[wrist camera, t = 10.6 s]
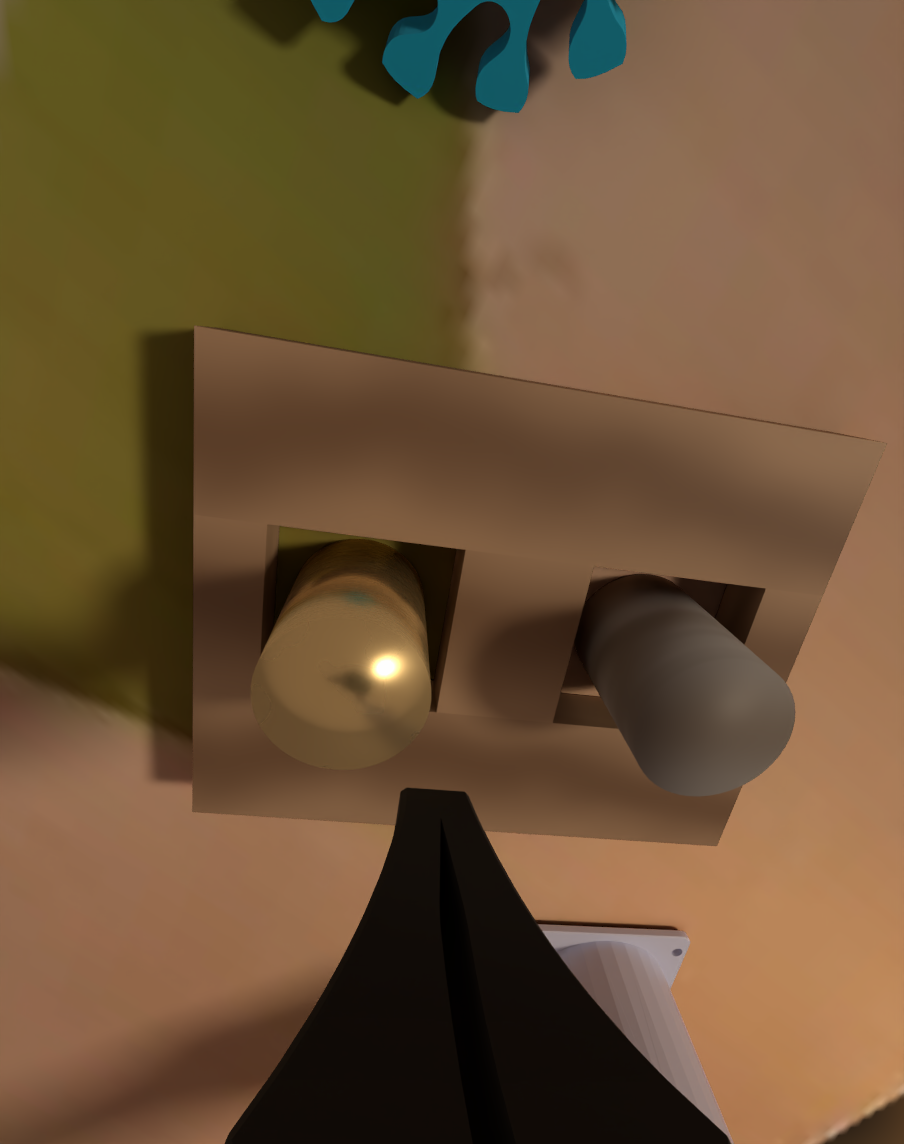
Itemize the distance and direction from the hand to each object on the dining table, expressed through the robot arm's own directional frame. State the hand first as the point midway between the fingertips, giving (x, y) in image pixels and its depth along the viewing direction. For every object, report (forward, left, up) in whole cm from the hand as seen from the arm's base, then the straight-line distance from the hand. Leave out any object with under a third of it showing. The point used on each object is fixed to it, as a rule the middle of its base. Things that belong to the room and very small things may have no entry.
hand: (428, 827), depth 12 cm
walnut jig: (+1, -3, -9) cm, 10 cm away
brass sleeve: (+1, +2, -9) cm, 10 cm away
